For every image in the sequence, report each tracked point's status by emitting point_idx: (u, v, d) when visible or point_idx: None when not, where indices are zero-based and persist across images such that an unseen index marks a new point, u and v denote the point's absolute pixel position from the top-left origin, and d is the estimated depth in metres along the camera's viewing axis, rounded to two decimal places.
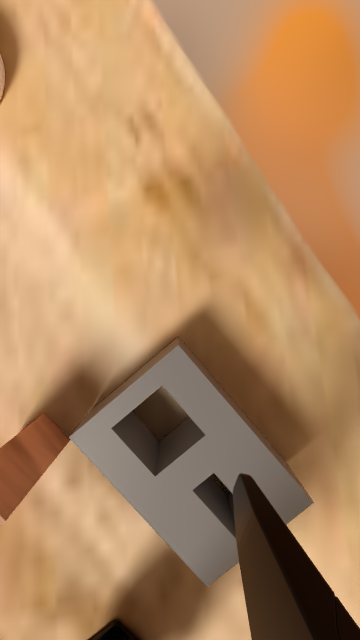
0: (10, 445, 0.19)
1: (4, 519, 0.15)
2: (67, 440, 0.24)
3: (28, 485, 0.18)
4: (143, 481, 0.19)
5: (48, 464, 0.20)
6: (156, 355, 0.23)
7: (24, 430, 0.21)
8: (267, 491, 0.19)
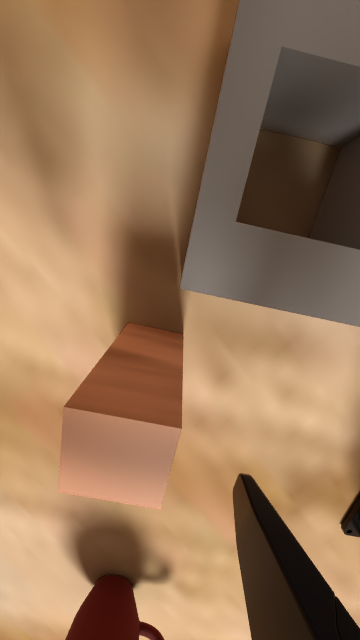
0: (110, 356, 0.11)
1: (178, 427, 0.08)
2: (180, 334, 0.16)
3: (174, 382, 0.10)
4: (346, 273, 0.10)
5: (180, 357, 0.13)
6: (217, 104, 0.12)
7: (117, 340, 0.13)
8: None
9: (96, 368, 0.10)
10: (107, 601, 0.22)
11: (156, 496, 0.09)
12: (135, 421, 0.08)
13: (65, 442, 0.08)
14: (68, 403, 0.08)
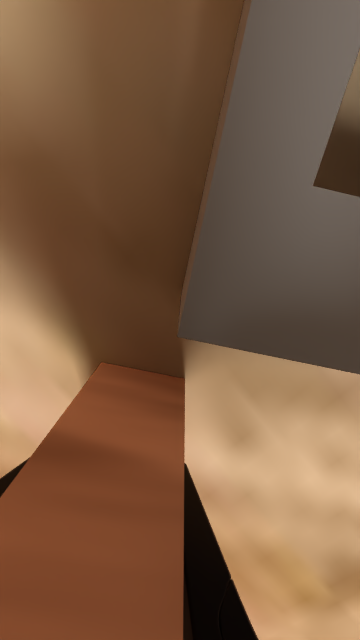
0: (41, 463, 0.06)
1: None
2: (180, 381, 0.10)
3: (167, 542, 0.05)
4: None
5: (179, 443, 0.07)
6: None
7: (71, 408, 0.08)
8: None
9: None
10: None
11: None
12: None
13: None
14: None
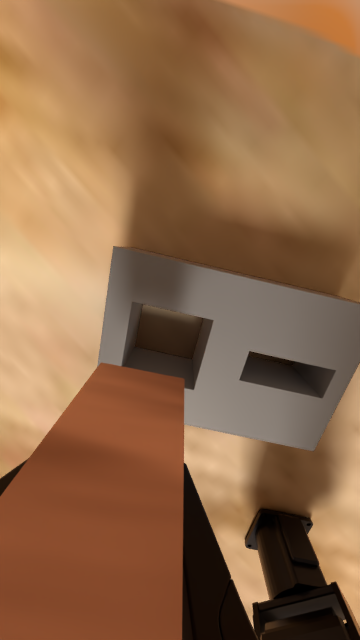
0: (40, 463, 0.06)
1: None
2: (179, 380, 0.10)
3: (166, 542, 0.05)
4: (186, 400, 0.17)
5: (179, 443, 0.07)
6: None
7: (70, 408, 0.08)
8: (321, 333, 0.15)
9: None
10: None
11: None
12: None
13: None
14: None
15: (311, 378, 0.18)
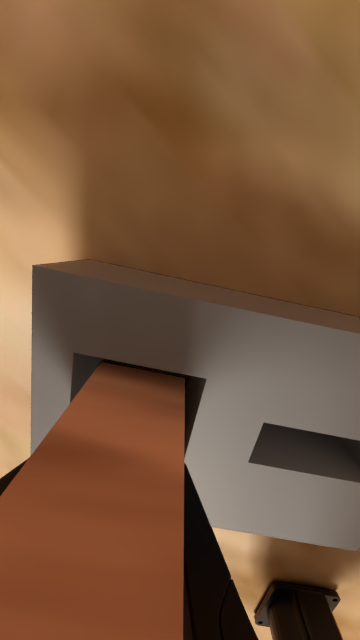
0: (41, 463, 0.06)
1: None
2: (180, 380, 0.10)
3: (167, 542, 0.05)
4: None
5: (179, 443, 0.07)
6: None
7: (70, 408, 0.08)
8: None
9: None
10: None
11: None
12: None
13: None
14: None
15: (351, 444, 0.13)
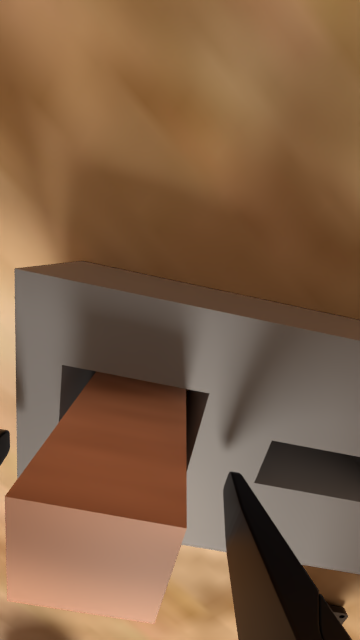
0: (91, 392, 0.08)
1: (181, 526, 0.05)
2: None
3: (176, 432, 0.08)
4: None
5: (182, 388, 0.10)
6: None
7: None
8: None
9: (70, 413, 0.07)
10: None
11: (148, 609, 0.06)
12: (116, 518, 0.05)
13: (12, 542, 0.05)
14: (14, 488, 0.05)
15: None
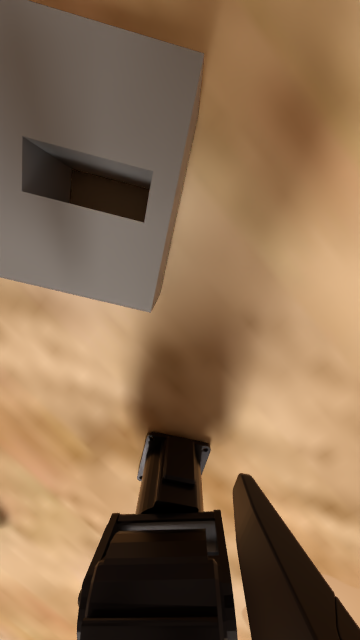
0: None
1: None
2: None
3: None
4: None
5: None
6: None
7: None
8: (117, 99, 0.10)
9: None
10: None
11: None
12: None
13: None
14: None
15: None
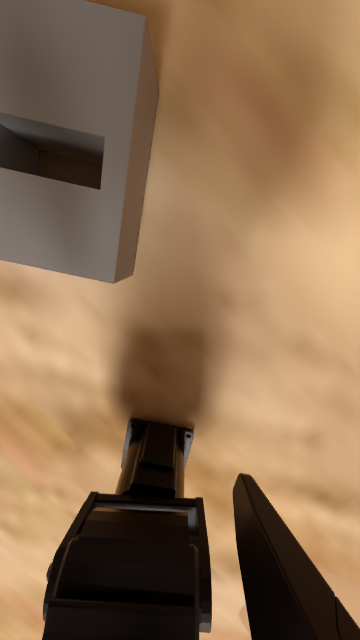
0: None
1: None
2: None
3: None
4: None
5: None
6: None
7: None
8: (65, 65, 0.10)
9: None
10: None
11: None
12: None
13: None
14: None
15: None
